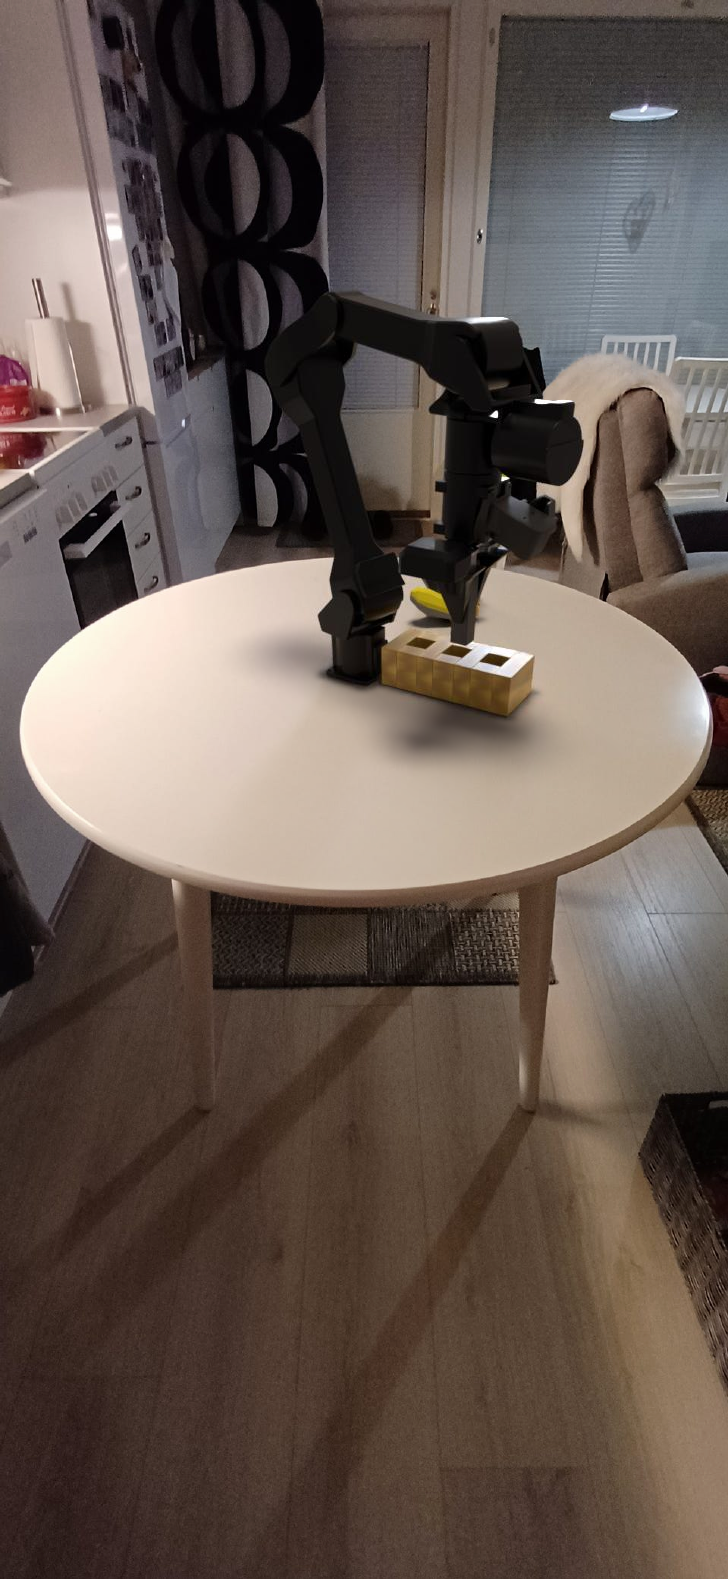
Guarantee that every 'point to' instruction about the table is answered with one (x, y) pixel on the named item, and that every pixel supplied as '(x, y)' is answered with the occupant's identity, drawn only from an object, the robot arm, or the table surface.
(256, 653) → the table surface
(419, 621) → the table surface
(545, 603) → the table surface
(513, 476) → the robot arm
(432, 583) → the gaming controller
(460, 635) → the peg
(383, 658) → the holder
